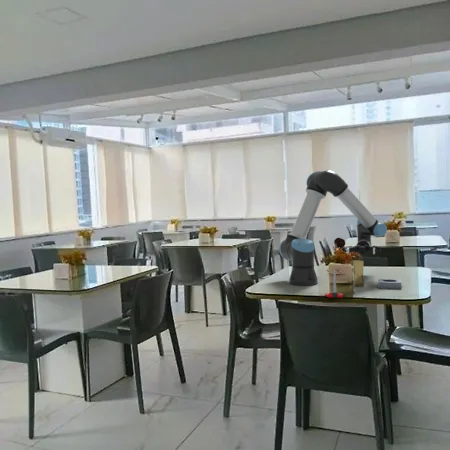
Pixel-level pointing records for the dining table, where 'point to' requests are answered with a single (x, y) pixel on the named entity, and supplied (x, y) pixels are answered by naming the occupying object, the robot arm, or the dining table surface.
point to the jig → (389, 283)
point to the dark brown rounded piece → (339, 242)
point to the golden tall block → (358, 273)
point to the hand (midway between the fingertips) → (360, 251)
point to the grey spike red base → (334, 289)
